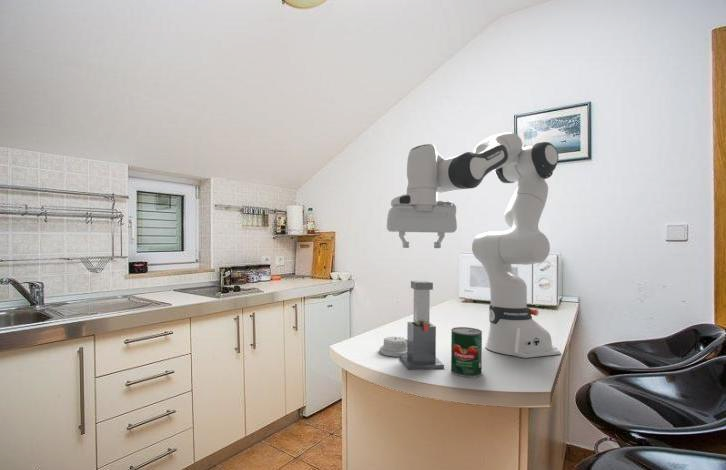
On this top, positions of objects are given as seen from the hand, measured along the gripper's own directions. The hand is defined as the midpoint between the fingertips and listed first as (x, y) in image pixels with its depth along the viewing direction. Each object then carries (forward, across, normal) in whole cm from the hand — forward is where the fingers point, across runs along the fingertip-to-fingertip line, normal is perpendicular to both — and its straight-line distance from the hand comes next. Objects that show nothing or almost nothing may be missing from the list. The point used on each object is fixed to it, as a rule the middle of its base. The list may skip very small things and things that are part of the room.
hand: (421, 248), depth 101 cm
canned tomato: (+33, -10, +8) cm, 35 cm away
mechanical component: (+33, +5, -11) cm, 35 cm away
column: (+27, 0, 0) cm, 27 cm away
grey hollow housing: (+33, 0, 0) cm, 33 cm away
